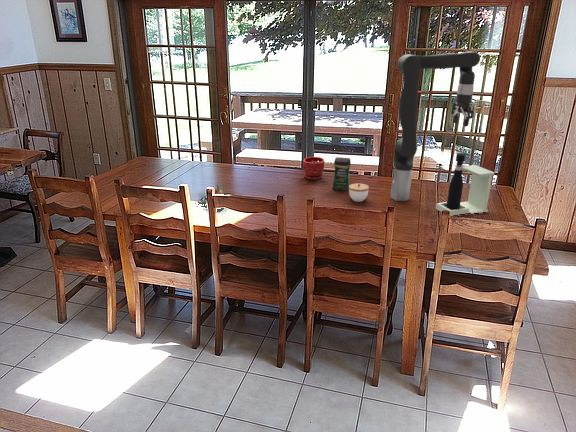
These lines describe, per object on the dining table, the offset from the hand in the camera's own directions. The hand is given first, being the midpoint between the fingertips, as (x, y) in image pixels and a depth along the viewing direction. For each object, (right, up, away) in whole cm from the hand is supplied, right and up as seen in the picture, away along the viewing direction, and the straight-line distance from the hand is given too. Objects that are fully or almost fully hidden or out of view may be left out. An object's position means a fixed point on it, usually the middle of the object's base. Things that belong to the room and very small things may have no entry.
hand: (460, 124), depth 237 cm
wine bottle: (-6, -46, -5) cm, 46 cm away
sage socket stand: (-1, -45, -3) cm, 45 cm away
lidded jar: (-52, -39, +11) cm, 66 cm away
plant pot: (-75, -24, +47) cm, 91 cm away
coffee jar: (-59, -32, +29) cm, 73 cm away
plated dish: (-131, -40, +12) cm, 138 cm away
